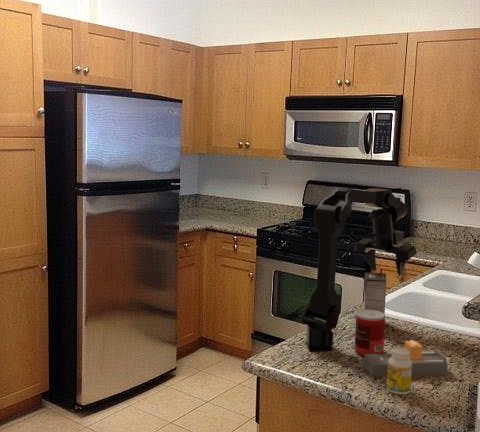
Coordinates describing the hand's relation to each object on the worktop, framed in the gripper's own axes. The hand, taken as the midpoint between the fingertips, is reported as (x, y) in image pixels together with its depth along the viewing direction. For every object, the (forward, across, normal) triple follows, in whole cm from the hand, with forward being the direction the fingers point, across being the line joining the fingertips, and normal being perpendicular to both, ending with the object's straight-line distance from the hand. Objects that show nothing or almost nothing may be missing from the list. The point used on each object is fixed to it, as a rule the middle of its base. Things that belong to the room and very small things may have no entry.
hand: (387, 273), depth 180 cm
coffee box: (+13, 0, +11) cm, 17 cm away
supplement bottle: (+5, -29, +45) cm, 54 cm away
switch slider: (+4, -26, +32) cm, 41 cm away
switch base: (+7, -24, +34) cm, 42 cm away
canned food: (+8, -12, +31) cm, 34 cm away
